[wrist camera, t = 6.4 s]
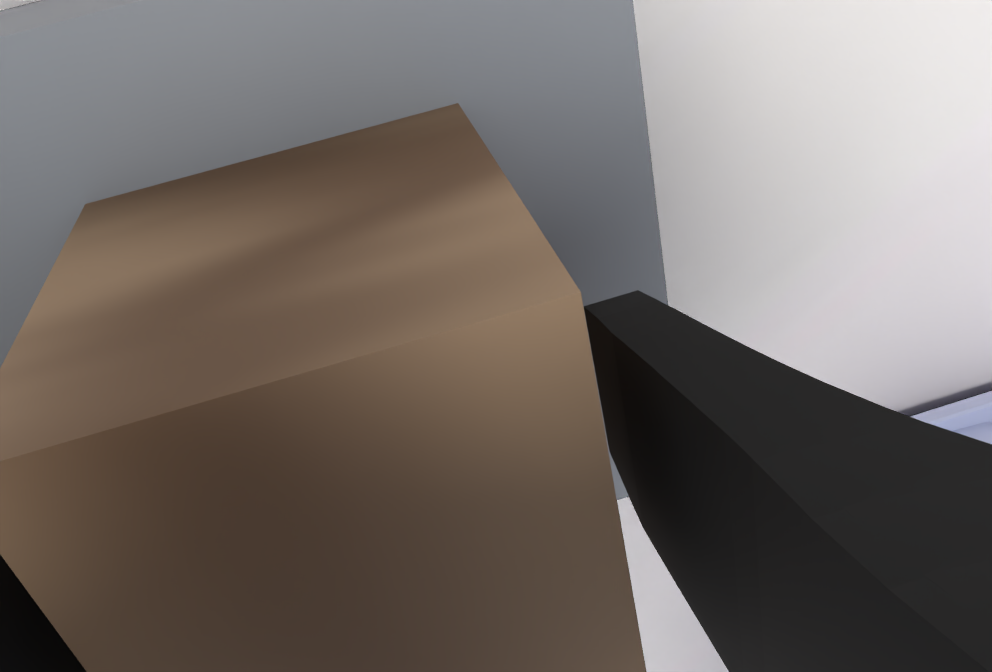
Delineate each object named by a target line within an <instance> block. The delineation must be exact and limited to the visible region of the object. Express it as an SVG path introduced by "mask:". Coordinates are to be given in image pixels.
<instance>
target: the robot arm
mask: <svg viewBox="0 0 992 672" xmlns="http://www.w3.org/2000/svg"><path fill="white" fill-rule="evenodd" d="M584 312H585V317H586V323H587V329H588V334H589V340H590V345H591V351H592V357H593V362H594V368H595V373H596V379H597V385H598V390H599V396H600V401H601V407H602V413H603V418H604V424H605V429H606V435H607V441H608V446H609V452H610V454H611V456H612V458H613V461H614V463H615V465H616V468H617V470H618V472H619V475H620V477H621V479H622V482H623V484H624V486H625V488H626V491H627V493H628V495H629V498H630V500H631V502H632V504H633V506H634V509H635V511H636V513H637V515H638V517H639V520H640V522H641V524H642V526H643V528H644V530H645V532H646V533H647V535H648V537H649V538H650V540H651V542H652V544H653V545H654V547H655V549H656V550H657V552H658V554H659V555H660V557H661V559H662V560H663V562H664V564H665V566H666V567H667V569H668V571H669V572H670V574H671V576H672V577H673V579H674V581H675V582H676V584H677V586H678V587H679V589H680V591H681V592H682V594H683V596H684V597H685V599H686V601H687V602H688V604H689V606H690V607H691V609H692V611H693V612H694V614H695V616H696V617H697V619H698V621H699V622H700V624H701V626H702V627H703V629H704V631H705V632H706V634H707V636H708V637H709V639H710V641H711V642H712V644H713V646H714V647H715V649H716V651H717V652H718V654H719V656H720V657H721V659H722V661H723V662H724V664H725V666H726V667H727V669H728V671H729V672H992V391H989V392H986V393H983V394H980V395H977V396H973V397H970V398H967V399H964V400H961V401H958V402H954V403H951V404H948V405H945V406H942V407H939V408H936V409H932V410H929V411H926V412H923V413H920V414H917V415H913V416H910V417H909V416H907V415H904V414H901V413H898V412H896V411H893V410H890V409H888V408H885V407H883V406H880V405H878V404H875V403H873V402H870V401H868V400H866V399H863V398H861V397H858V396H856V395H853V394H851V393H849V392H846V391H844V390H841V389H839V388H836V387H834V386H832V385H829V384H827V383H824V382H822V381H820V380H818V379H815V378H813V377H811V376H809V375H806V374H804V373H802V372H800V371H798V370H795V369H793V368H791V367H789V366H787V365H785V364H782V363H780V362H778V361H776V360H774V359H772V358H770V357H768V356H766V355H764V354H761V353H759V352H757V351H755V350H753V349H751V348H749V347H747V346H745V345H743V344H741V343H739V342H737V341H735V340H733V339H731V338H729V337H727V336H725V335H723V334H721V333H719V332H718V331H716V330H714V329H712V328H710V327H708V326H706V325H704V324H702V323H700V322H698V321H696V320H695V319H693V318H691V317H689V316H687V315H685V314H683V313H681V312H679V311H678V310H676V309H674V308H672V307H670V306H668V305H666V304H664V303H662V302H661V301H659V300H657V299H655V298H653V297H651V296H649V295H647V294H645V293H643V292H641V291H639V290H637V291H633V292H630V293H627V294H623V295H620V296H617V297H613V298H610V299H606V300H603V301H600V302H596V303H593V304H590V305H586V306H584ZM0 672H87V671H86V670H85V669H84V667H83V666H82V665H81V663H80V662H79V661H78V659H77V658H76V656H75V655H74V654H73V652H72V651H71V650H70V648H69V647H68V646H67V644H66V643H65V642H64V640H63V639H62V637H61V636H60V635H59V633H58V632H57V631H56V629H55V628H54V627H53V625H52V624H51V623H50V621H49V620H48V618H47V617H46V616H45V614H44V613H43V612H42V610H41V609H40V608H39V606H38V605H37V604H36V602H35V601H34V599H33V598H32V597H31V595H30V594H29V593H28V591H27V590H26V589H25V587H24V586H23V585H22V583H21V582H20V580H19V579H18V578H17V576H16V575H15V574H14V572H13V571H12V570H11V568H10V567H9V566H8V564H7V563H6V561H5V560H4V559H3V557H2V556H1V555H0Z"/></svg>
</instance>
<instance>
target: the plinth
mask: <svg viewBox="0 0 992 672" xmlns="http://www.w3.org/2000/svg"><path fill="white" fill-rule="evenodd" d="M456 103H458V104H459V105H460V107H461V108H462V110H463V111H464V113H465V114H466V116H467V117H468V119H469V120H470V122H471V124H472V125H473V127H474V128H475V130H476V131H477V133H478V134H479V136H480V137H481V139H482V140H483V142H484V144H485V145H486V147H487V148H488V150H489V151H490V153H491V154H492V156H493V157H494V159H495V161H496V162H497V164H498V165H499V167H500V168H501V170H502V171H503V173H504V174H505V176H506V177H507V179H508V181H509V182H510V184H511V185H512V187H513V188H514V190H515V191H516V193H517V194H518V196H519V198H520V199H521V201H522V202H523V204H524V205H525V207H526V208H527V210H528V211H529V213H530V214H531V216H532V218H533V219H534V221H535V222H536V224H537V225H538V227H539V228H540V230H541V231H542V233H543V235H544V236H545V238H546V239H547V241H548V242H549V244H550V245H551V247H552V248H553V250H554V251H555V253H556V255H557V256H558V258H559V259H560V261H561V262H562V264H563V265H564V267H565V268H566V270H567V272H568V273H569V275H570V276H571V278H572V279H573V281H574V282H575V284H576V285H577V287H578V288H579V290H580V292H581V296H582V302H583V307H584V306H586V305H590V304H593V303H596V302H600V301H603V300H606V299H610V298H613V297H617V296H620V295H623V294H627V293H630V292H633V291H637V290H639V291H641V292H643V293H645V294H647V295H649V296H651V297H653V298H655V299H657V300H659V301H661V302H662V303H664V304H666V305H668V301H667V292H666V284H665V275H664V267H663V258H662V249H661V241H660V232H659V224H658V215H657V206H656V198H655V189H654V180H653V172H652V163H651V155H650V146H649V137H648V129H647V120H646V111H645V103H644V94H643V86H642V77H641V68H640V60H639V51H638V42H637V34H636V25H635V17H634V8H633V0H41V1H37V2H34V3H30V4H26V5H22V6H18V7H14V8H10V9H6V10H3V11H0V368H1V366H2V364H3V362H4V360H5V358H6V356H7V354H8V352H9V350H10V348H11V347H12V345H13V343H14V341H15V339H16V337H17V335H18V333H19V331H20V329H21V327H22V325H23V323H24V321H25V319H26V318H27V316H28V314H29V312H30V310H31V308H32V306H33V304H34V302H35V300H36V298H37V296H38V294H39V292H40V290H41V289H42V287H43V285H44V283H45V281H46V279H47V277H48V275H49V273H50V271H51V269H52V267H53V265H54V263H55V262H56V260H57V258H58V256H59V254H60V252H61V250H62V248H63V246H64V244H65V242H66V240H67V238H68V236H69V234H70V233H71V231H72V229H73V227H74V225H75V223H76V221H77V219H78V217H79V215H80V213H81V211H82V209H83V207H84V205H85V204H87V203H91V202H95V201H98V200H102V199H106V198H109V197H113V196H117V195H120V194H124V193H128V192H131V191H135V190H139V189H143V188H146V187H150V186H154V185H157V184H161V183H165V182H168V181H172V180H176V179H179V178H183V177H187V176H191V175H194V174H198V173H202V172H205V171H209V170H213V169H216V168H220V167H224V166H227V165H231V164H235V163H239V162H242V161H246V160H250V159H253V158H257V157H261V156H264V155H268V154H272V153H275V152H279V151H283V150H287V149H290V148H294V147H298V146H301V145H305V144H309V143H312V142H316V141H320V140H323V139H327V138H331V137H335V136H338V135H342V134H346V133H349V132H353V131H357V130H360V129H364V128H368V127H371V126H375V125H379V124H383V123H386V122H390V121H394V120H397V119H401V118H405V117H408V116H412V115H416V114H419V113H423V112H427V111H431V110H434V109H438V108H442V107H445V106H449V105H453V104H456ZM584 313H585V312H584ZM585 319H586V317H585ZM586 325H587V323H586ZM587 331H588V329H587ZM588 337H589V334H588ZM589 342H590V340H589ZM590 348H591V345H590ZM591 354H592V351H591ZM592 360H593V357H592ZM593 366H594V362H593ZM594 371H595V368H594ZM595 377H596V373H595ZM596 383H597V379H596ZM597 389H598V385H597ZM598 395H599V390H598ZM599 400H600V396H599ZM600 406H601V401H600ZM601 412H602V407H601ZM602 418H603V413H602ZM603 424H604V418H603ZM604 429H605V424H604ZM605 435H606V429H605ZM606 441H607V435H606ZM607 447H608V453H609V458H610V464H611V470H612V476H613V482H614V487H615V493H616V499H617V500H619V499H622V498H625V497H628V496H629V495H628V493H627V491H626V488H625V486H624V484H623V482H622V479H621V477H620V475H619V472H618V470H617V468H616V465H615V463H614V461H613V458H612V456H611V454H610V452H609V446H608V441H607Z"/></svg>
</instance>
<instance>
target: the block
mask: <svg viewBox="0 0 992 672" xmlns="http://www.w3.org/2000/svg"><path fill="white" fill-rule="evenodd" d="M0 555H1V556H2V557H3V559H4V560H5V561H6V563H7V564H8V566H9V567H10V568H11V570H12V571H13V572H14V574H15V575H16V576H17V578H18V579H19V580H20V582H21V583H22V585H23V586H24V587H25V589H26V590H27V591H28V593H29V594H30V595H31V597H32V598H33V599H34V601H35V602H36V604H37V605H38V606H39V608H40V609H41V610H42V612H43V613H44V614H45V616H46V617H47V618H48V620H49V621H50V623H51V624H52V625H53V627H54V628H55V629H56V631H57V632H58V633H59V635H60V636H61V637H62V639H63V640H64V642H65V643H66V644H67V646H68V647H69V648H70V650H71V651H72V652H73V654H74V655H75V656H76V658H77V659H78V661H79V662H80V663H81V665H82V666H83V667H84V669H85V670H86V671H87V672H646V667H645V661H644V656H643V650H642V644H641V638H640V632H639V627H638V621H637V615H636V609H635V603H634V598H633V592H632V586H631V580H630V574H629V569H628V563H627V557H626V551H625V545H624V540H623V534H622V528H621V522H620V516H619V511H618V505H617V499H616V493H615V487H614V482H613V476H612V470H611V464H610V458H609V453H608V447H607V441H606V435H605V429H604V424H603V418H602V412H601V406H600V400H599V395H598V389H597V383H596V377H595V371H594V366H593V360H592V354H591V348H590V342H589V337H588V331H587V325H586V319H585V313H584V307H583V302H582V296H581V292H580V290H579V288H578V287H577V285H576V284H575V282H574V281H573V279H572V278H571V276H570V275H569V273H568V272H567V270H566V268H565V267H564V265H563V264H562V262H561V261H560V259H559V258H558V256H557V255H556V253H555V251H554V250H553V248H552V247H551V245H550V244H549V242H548V241H547V239H546V238H545V236H544V235H543V233H542V231H541V230H540V228H539V227H538V225H537V224H536V222H535V221H534V219H533V218H532V216H531V214H530V213H529V211H528V210H527V208H526V207H525V205H524V204H523V202H522V201H521V199H520V198H519V196H518V194H517V193H516V191H515V190H514V188H513V187H512V185H511V184H510V182H509V181H508V179H507V177H506V176H505V174H504V173H503V171H502V170H501V168H500V167H499V165H498V164H497V162H496V161H495V159H494V157H493V156H492V154H491V153H490V151H489V150H488V148H487V147H486V145H485V144H484V142H483V140H482V139H481V137H480V136H479V134H478V133H477V131H476V130H475V128H474V127H473V125H472V124H471V122H470V120H469V119H468V117H467V116H466V114H465V113H464V111H463V110H462V108H461V107H460V105H459V104H458V103H456V104H453V105H449V106H445V107H442V108H438V109H434V110H431V111H427V112H423V113H419V114H416V115H412V116H408V117H405V118H401V119H397V120H394V121H390V122H386V123H383V124H379V125H375V126H371V127H368V128H364V129H360V130H357V131H353V132H349V133H346V134H342V135H338V136H335V137H331V138H327V139H323V140H320V141H316V142H312V143H309V144H305V145H301V146H298V147H294V148H290V149H287V150H283V151H279V152H275V153H272V154H268V155H264V156H261V157H257V158H253V159H250V160H246V161H242V162H239V163H235V164H231V165H227V166H224V167H220V168H216V169H213V170H209V171H205V172H202V173H198V174H194V175H191V176H187V177H183V178H179V179H176V180H172V181H168V182H165V183H161V184H157V185H154V186H150V187H146V188H143V189H139V190H135V191H131V192H128V193H124V194H120V195H117V196H113V197H109V198H106V199H102V200H98V201H95V202H91V203H87V204H85V205H84V207H83V209H82V211H81V213H80V215H79V217H78V219H77V221H76V223H75V225H74V227H73V229H72V231H71V233H70V234H69V236H68V238H67V240H66V242H65V244H64V246H63V248H62V250H61V252H60V254H59V256H58V258H57V260H56V262H55V263H54V265H53V267H52V269H51V271H50V273H49V275H48V277H47V279H46V281H45V283H44V285H43V287H42V289H41V290H40V292H39V294H38V296H37V298H36V300H35V302H34V304H33V306H32V308H31V310H30V312H29V314H28V316H27V318H26V319H25V321H24V323H23V325H22V327H21V329H20V331H19V333H18V335H17V337H16V339H15V341H14V343H13V345H12V347H11V348H10V350H9V352H8V354H7V356H6V358H5V360H4V362H3V364H2V366H1V368H0Z"/></svg>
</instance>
